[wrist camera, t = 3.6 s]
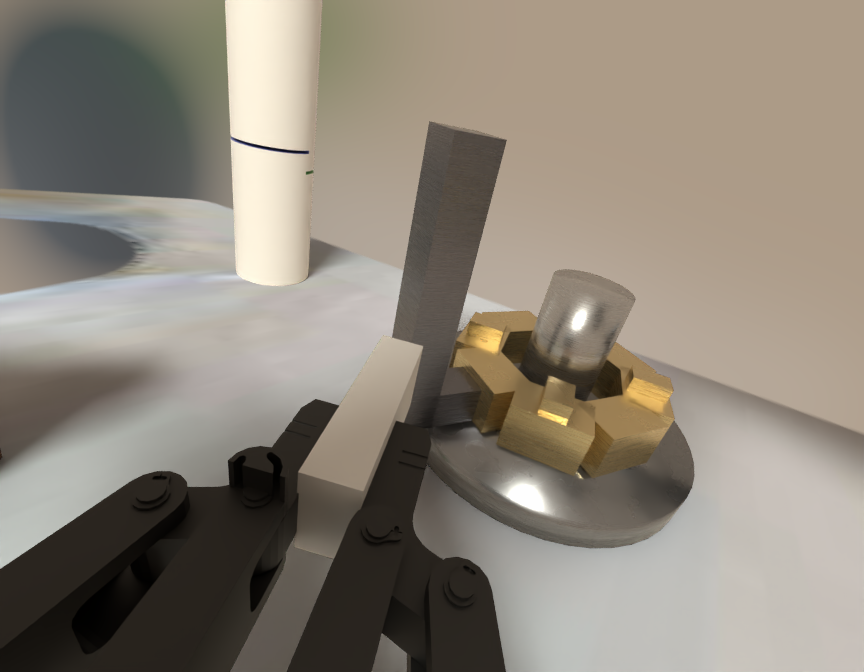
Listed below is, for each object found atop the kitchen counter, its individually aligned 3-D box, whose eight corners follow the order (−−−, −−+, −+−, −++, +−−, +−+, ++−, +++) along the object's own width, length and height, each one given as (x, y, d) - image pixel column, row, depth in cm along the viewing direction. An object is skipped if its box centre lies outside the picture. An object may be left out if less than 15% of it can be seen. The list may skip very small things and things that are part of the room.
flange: (636, 381, 39) (696, 272, 33) (734, 595, 21) (891, 441, 16) (431, 327, 40) (456, 214, 35) (365, 487, 23) (395, 310, 17)
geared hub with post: (559, 338, 38) (632, 158, 30) (693, 449, 27) (857, 216, 20) (354, 353, 29) (385, 106, 22) (436, 523, 19) (550, 161, 11)
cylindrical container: (220, 267, 42) (201, -53, 30) (276, 254, 48) (279, -19, 36) (269, 292, 40) (269, -47, 27) (322, 275, 45) (342, -12, 33)
